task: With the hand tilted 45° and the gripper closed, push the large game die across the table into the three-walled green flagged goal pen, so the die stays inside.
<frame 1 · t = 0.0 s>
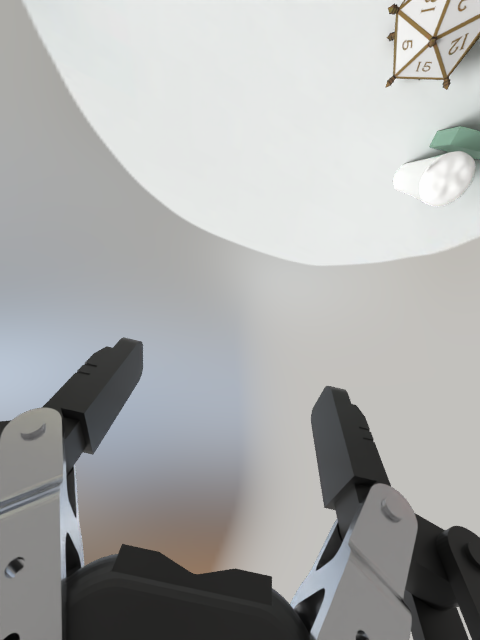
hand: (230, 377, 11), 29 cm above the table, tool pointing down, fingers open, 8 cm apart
game die: (416, 43, 25), on the table
milkshake: (403, 175, 30), on the table
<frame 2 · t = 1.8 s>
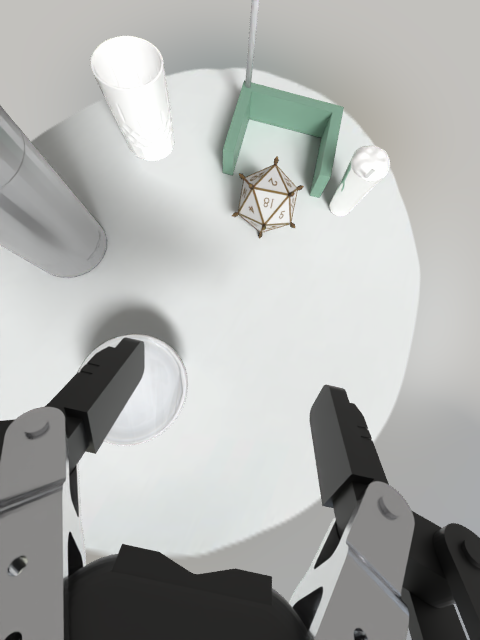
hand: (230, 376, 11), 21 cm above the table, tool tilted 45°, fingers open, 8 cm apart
game die: (262, 220, 36), on the table
white cup: (152, 144, 37), on the table
green flagged goal pen: (279, 152, 38), on the table
ramekin: (146, 384, 30), on the table
milkshake: (337, 210, 37), on the table
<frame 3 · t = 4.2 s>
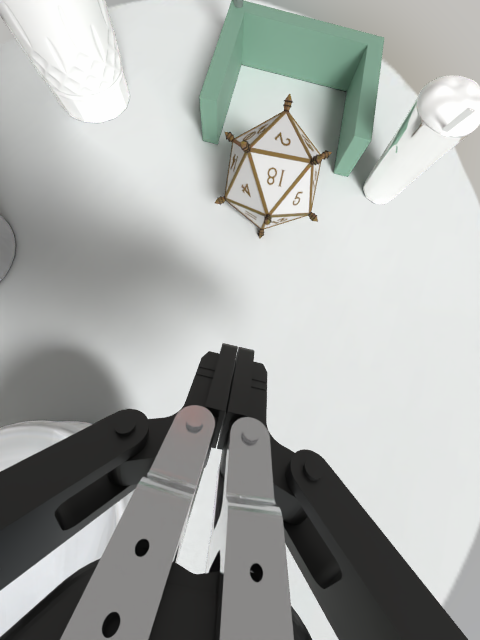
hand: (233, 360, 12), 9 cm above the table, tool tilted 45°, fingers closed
game die: (263, 211, 24), on the table
white cup: (97, 99, 25), on the table
green flagged goal pen: (286, 111, 26), on the table
ramekin: (72, 489, 18), on the table
milkshake: (375, 195, 25), on the table
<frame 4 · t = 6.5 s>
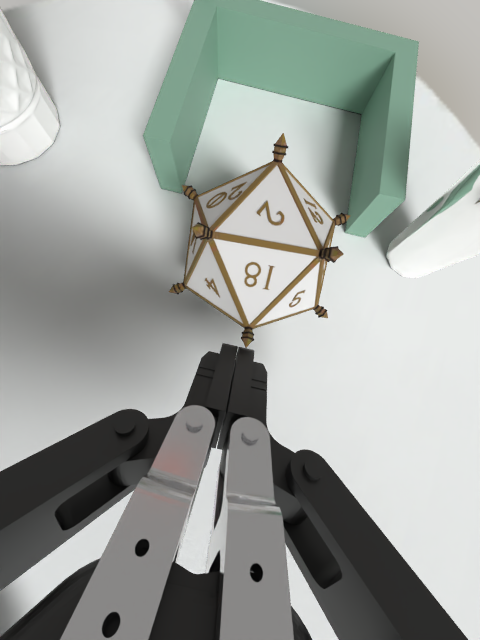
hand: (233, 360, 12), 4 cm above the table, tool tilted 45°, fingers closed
game die: (249, 283, 17), on the table, touching gripper
white cup: (14, 130, 18), on the table
green flagged goal pen: (279, 143, 19), on the table
milkshake: (404, 263, 18), on the table
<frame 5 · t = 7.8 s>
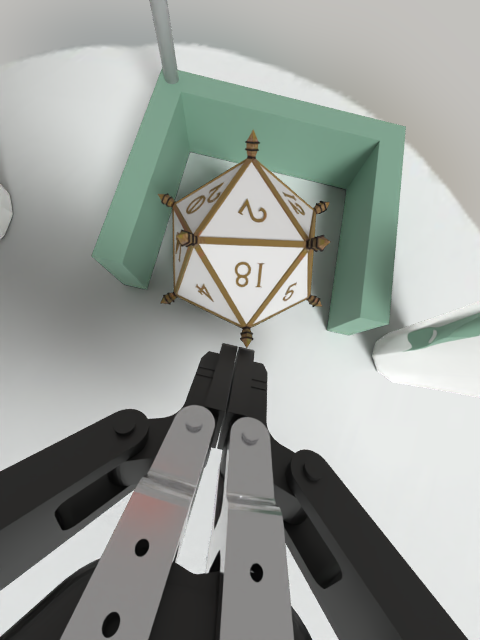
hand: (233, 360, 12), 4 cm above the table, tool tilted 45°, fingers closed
game die: (238, 282, 17), on the table, touching gripper
green flagged goal pen: (256, 226, 17), on the table
milkshake: (391, 363, 16), on the table
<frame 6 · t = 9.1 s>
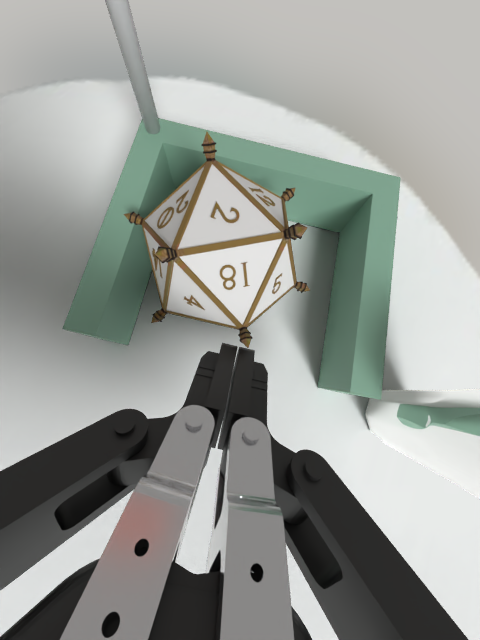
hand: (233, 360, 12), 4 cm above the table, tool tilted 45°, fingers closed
game die: (223, 284, 17), on the table, touching gripper
green flagged goal pen: (244, 274, 17), on the table
milkshake: (386, 422, 15), on the table
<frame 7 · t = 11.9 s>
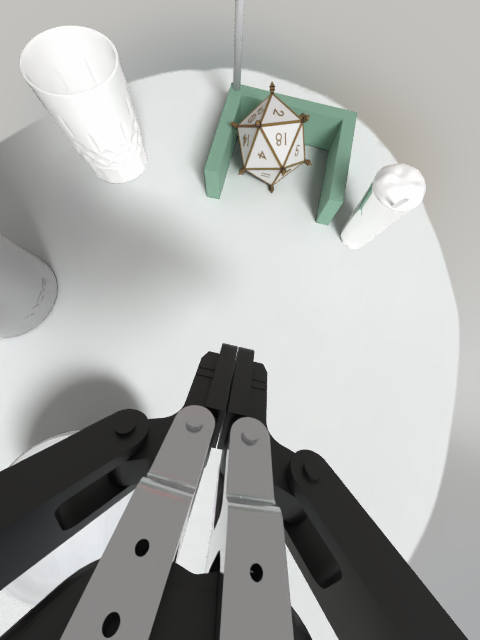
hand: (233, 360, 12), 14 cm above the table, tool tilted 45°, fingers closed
game die: (265, 174, 31), on the table
white cup: (120, 162, 30), on the table
green flagged goal pen: (277, 168, 31), on the table
ramekin: (103, 483, 23), on the table
milkshake: (351, 240, 30), on the table
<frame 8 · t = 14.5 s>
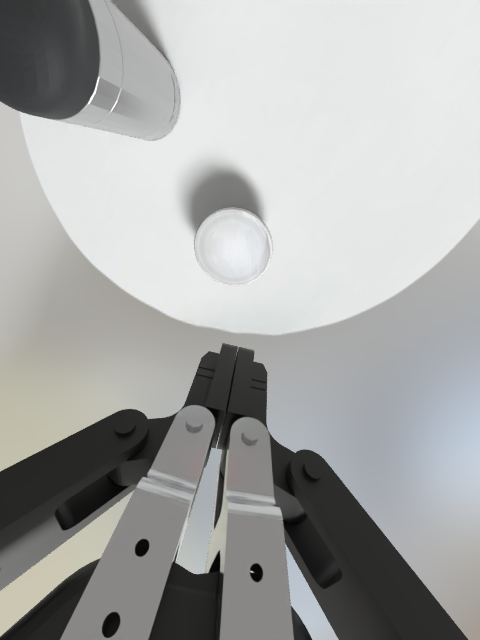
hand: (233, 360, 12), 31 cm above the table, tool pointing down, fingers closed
ramekin: (237, 240, 40), on the table
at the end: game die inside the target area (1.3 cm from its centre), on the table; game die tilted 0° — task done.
